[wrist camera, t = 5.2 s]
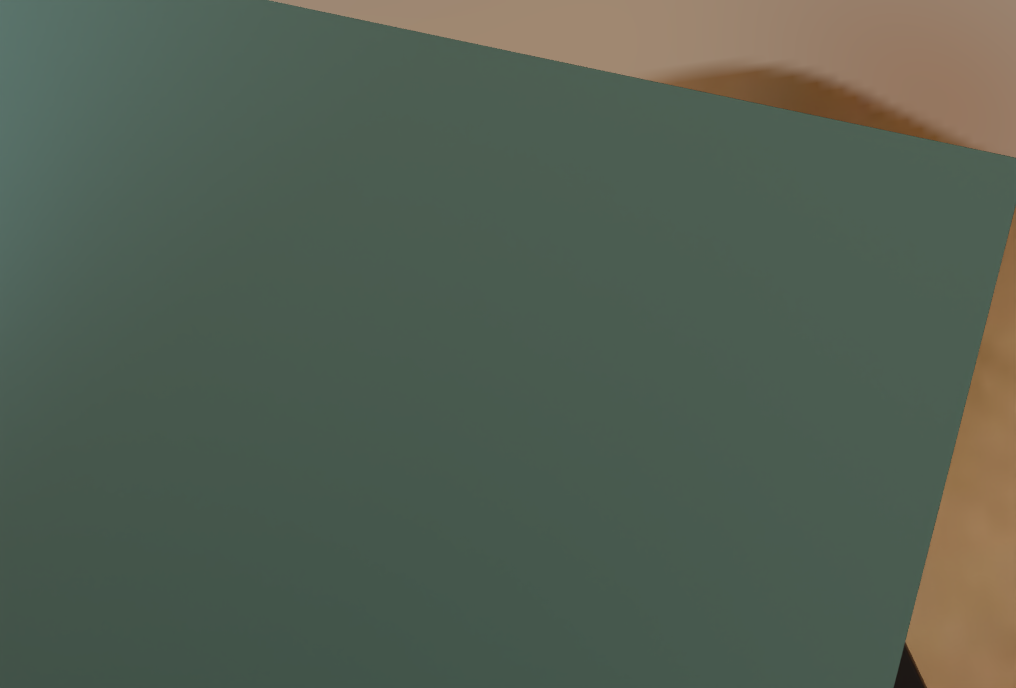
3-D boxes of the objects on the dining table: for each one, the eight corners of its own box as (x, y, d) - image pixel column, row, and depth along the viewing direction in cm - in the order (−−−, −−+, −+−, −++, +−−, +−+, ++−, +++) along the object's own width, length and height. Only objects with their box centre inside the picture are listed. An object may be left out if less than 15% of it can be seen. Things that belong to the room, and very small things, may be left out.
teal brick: (663, 756, 14) (590, 1876, 2) (375, 643, 15) (-613, 1030, 4) (750, 448, 15) (1024, 161, 3) (468, 363, 16) (-109, -80, 4)
